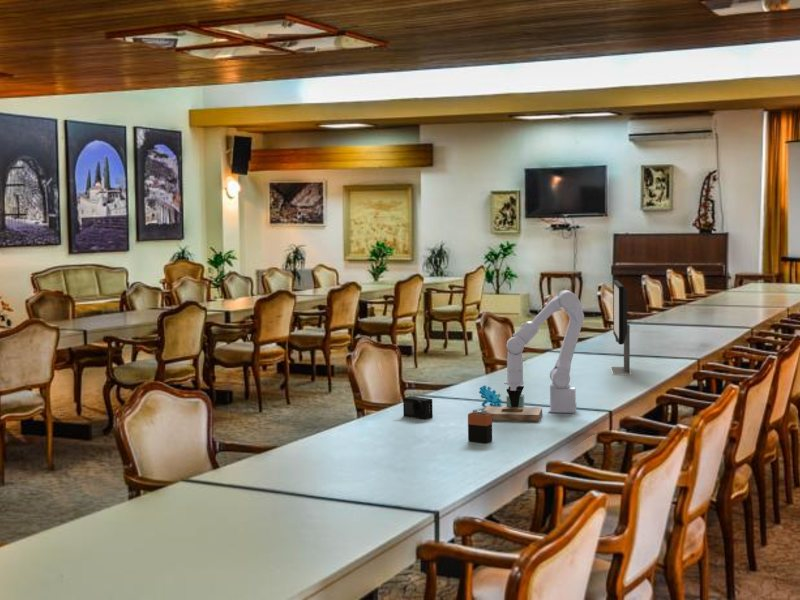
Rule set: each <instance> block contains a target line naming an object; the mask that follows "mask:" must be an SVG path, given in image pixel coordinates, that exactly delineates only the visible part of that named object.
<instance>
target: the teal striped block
mask: <svg viewBox="0 0 800 600" xmlns="http://www.w3.org/2000/svg"><path fill="white" fill-rule="evenodd" d="M506 407H511V402H510V398H509V395H508V394H507V395H506ZM518 407H525V394H521V395H520V398H519V405H518Z"/></svg>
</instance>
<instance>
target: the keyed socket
mask: <svg viewBox="0 0 800 600" xmlns="http://www.w3.org/2000/svg"><path fill="white" fill-rule="evenodd" d="M484 410H486V411H488V412H487V413H491V414H492V422H520V423H521V422H523V423H524V422H525V423H526V422H527V423H540V420H541V418H542V415H543V407H540V406H539V407H536V406H535V407H534V406H532V407H531V406H528V407H527V406H524V407H507V406H498V407H496V406H494V405H493V406H490V405H488V406H485V408H484Z"/></svg>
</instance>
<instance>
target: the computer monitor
mask: <svg viewBox="0 0 800 600" xmlns="http://www.w3.org/2000/svg"><path fill="white" fill-rule="evenodd" d="M612 281H613V282H612V283H613V285H612V288H613V289H612V290H613V291H612V294H613V295H612V296H613V297H612V301H613V303H612V304H613V305H612V309H613V310H612V311H613V313H612V314H613V318H612V319H613V320H612V322H613V323H612V325H613V326H612V327H613V329H612V331H613V332H612V333H613V336H614V338H615V339H614V340H615V342H617V343H618V345H623V366H610V367H609V370H610V373H611V374H612V375H614V376H631V375H632V371H631V370H630V362H631V361H630V359H631V356H630V353H631V351H630V349H631V347H630V339H631V338H630V335H631V333H630V330H631V329H630V323H628V291H627V289H626V288H625V287H624V286H623V284H622V283H621V282H620V281H619V280H618V279H614V280H612Z"/></svg>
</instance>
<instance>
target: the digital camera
mask: <svg viewBox="0 0 800 600" xmlns="http://www.w3.org/2000/svg"><path fill="white" fill-rule="evenodd" d="M402 402H403V403H402V404H403V405H402V407H403V417H405V418H411V419H417V420H418V419H419V420H429V419H433V416H434V415H433V399H432V398H426V397H420V396H412V395H411V396H406V397H405V396H404V397H403V399H402Z"/></svg>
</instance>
